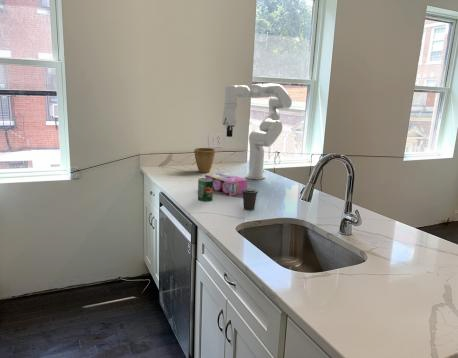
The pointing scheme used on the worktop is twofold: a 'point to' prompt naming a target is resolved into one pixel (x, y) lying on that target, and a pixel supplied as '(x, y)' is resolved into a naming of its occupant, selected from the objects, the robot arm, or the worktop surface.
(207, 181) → the canned tomato
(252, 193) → the dark tapered cylinder
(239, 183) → the gum box
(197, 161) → the plant pot
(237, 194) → the mat
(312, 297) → the worktop surface
